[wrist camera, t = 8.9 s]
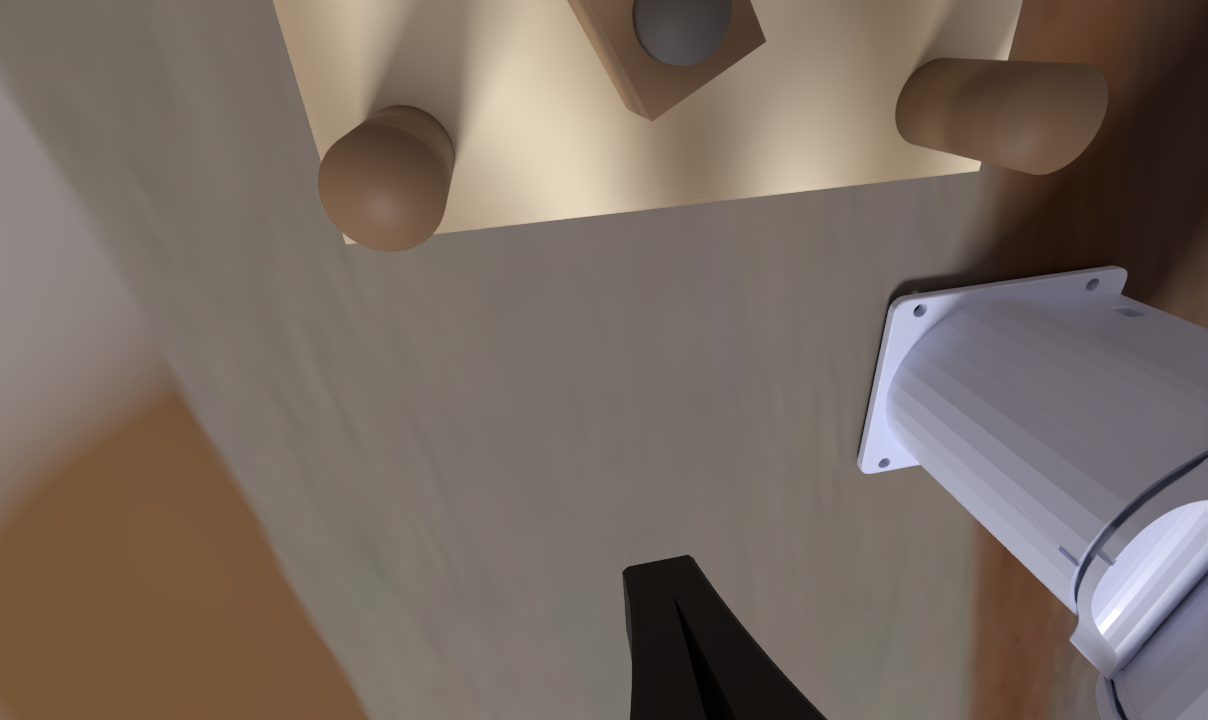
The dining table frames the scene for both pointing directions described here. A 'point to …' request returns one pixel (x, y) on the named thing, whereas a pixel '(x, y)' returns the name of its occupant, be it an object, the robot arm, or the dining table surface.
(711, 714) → the robot arm
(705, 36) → the folding leg
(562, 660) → the dining table surface
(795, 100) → the stool seat
